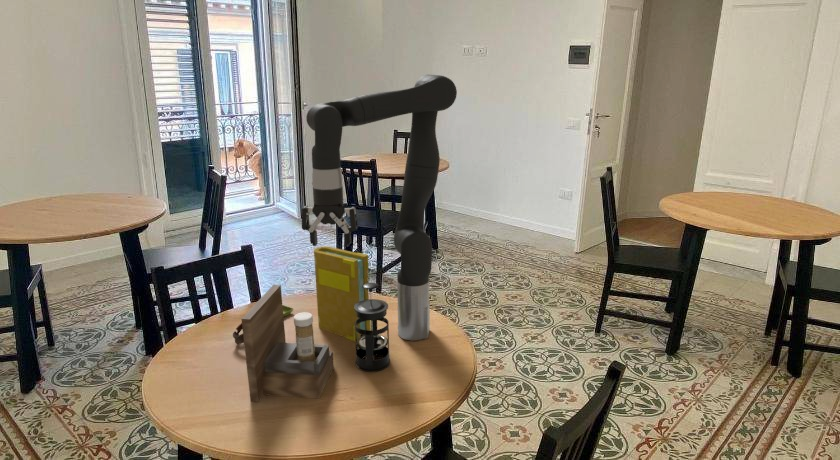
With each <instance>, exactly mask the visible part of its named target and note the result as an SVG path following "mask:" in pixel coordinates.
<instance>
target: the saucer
mask: <svg viewBox="0 0 840 460" xmlns="http://www.w3.org/2000/svg"><path fill="white" fill-rule="evenodd" d="M282 306H283V318H285V317H286V316H288V315H290V314H292V312H293V311H294V308H293V307H290V306H287V305H284V304H282Z"/></svg>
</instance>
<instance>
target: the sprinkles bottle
mask: <svg viewBox="0 0 840 460" xmlns="http://www.w3.org/2000/svg"><path fill="white" fill-rule="evenodd" d="M313 323H314V318H313V314H312V313H310V312H307V311H306V312H305V311H303V312H299V313H296V314H295V315H294V316H293V324H294V329H295V342H296V345H297V354H298V361H316V360H315V346H314V344H315V339H314V328H313V327H314V326H313V325H314V324H313Z"/></svg>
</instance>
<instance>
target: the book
mask: <svg viewBox="0 0 840 460" xmlns="http://www.w3.org/2000/svg"><path fill="white" fill-rule="evenodd" d="M313 257H314V273H315V274H314V275H315V287H316V303H317V317H318V318H317V322H318V328H319V329H320V330H322V331H325V332H329V333H332V334H335V335H338V336H341V337H344V338H346V339H347V340H350V341H352V342H355V322H356V320H358V319H359V318H358V317H357V316H356V311H355V310H354V305H355V304H356V303H358V302H360V301H362V300H367V299H370V294H369V289H364V288H363V287H362V286H363V284H365V283H369V254H365V253H361V252H354V251H349V250H344V249H341V248H338V247H337V248H336V247H332V246H327V245H326V246H319V247H316V248H314V249H313ZM357 327H358V328H360V329H362V330H369V331H371V320H367V321H363V322H361V323H359V324H358V325H357ZM361 335H362V334H360V333H358V332H357V340H358V339H359V338H360V337H362V336H361Z"/></svg>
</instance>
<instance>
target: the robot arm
mask: <svg viewBox="0 0 840 460" xmlns="http://www.w3.org/2000/svg"><path fill="white" fill-rule="evenodd" d="M457 93H458V90H457V87H456V84H455V83H454V82H453V80H452V79H450V78H449V77H447V76H444V75H440V74H439V75H438V74H425V75H422V76H420V77H419V78H418V79H417V81H416V82H415V83H414V85H413V86H412V87H409V88H404V89H399V90H397V89H396V90H390V91H381V92H373V93H368V94H363V95H359V96H354V97H351V98H347V99H344V100H335V101H328V102H323V103H322V102H321V103H317V104H314V105H313V106H311V107H310V108H309V109H308V111H307V113H306V118H305V119H306V123H307V125H308V127H309V128H310V130H313V132H314V145H313V146H312V149H311V162H312V163H311V164H312V165H311V166H312V173H311V178H312V179H311V180H312V181H311V186H312V197H313V198H312V199H313V206H309V205H304V206H303V207H302V208H301V230H303V231H307V232H309V241H310V244H311V245H312V247H316V246H317V245H318V243H319V242H318V231H317V227H319V225H320V224H322V225H328V224H329V225H336V224H337V226H338V227H339V228H341V230H342V231H343V232H344V233H343V240H344V241H343V242H344V247H345V248H348V247H349V246H350V245H351V243H352V232H356V231H357V229H358V227H359V226H358V225H359V224H358V214H357V208H356V207H355V206H351V207H345V205H344V189H343V187H344V186H343V174H342V166H341V150H340V149H341V145H342V144H341V143H342V136H343V128H344V127H350V126H351V127H357V126H364V125H367V124H372V123H375V122H380V121H383V120H387V119H390V118H395V117H398V116H403V115H408V114H411V125H410V126H411V129H410V135H409V142H408V150H407V156H406V163H405V169H404V176H403V178H404V179H403V185H402V196H401V202H400V204H401V206H400V210H399V215H398V219H397V223H396V226H395V230H394V235H393V244H394V248H395V249H396V250H397V252H398V253H399V254H400V269H399V270H398V271H397V272H396V273H397V274H396V275H397V278H396V280H397V281H396V283H397V284H396V285H397V333H398V336H399V337H400V338H401V339H403V340H406V341H407V340H408V341H420V340H421V341H422V340H427V339H428V338H429V333H430V329H431V328H430V324H431V323H430V322H431V321H430V318H431V317H430V313H431V312H430V310H431V309H430V275H431V273H432V265H433V264H432V263H433V260H432V259H433V244H432V239H431V237H430V235H428V233H426V232H425V231H424V229H423V227H424V216H425V209H426V207H427V205H428V202H429V200H430V199H431V197H432V195H433V192H434V190H435V188H436V186H437V181H438V176H439V169H440V168H439V167H440V161H441V159H440V151H439V144H438V141H437V139H438V138H437V135H436V134H437V133H436V131H437V130H436V127H437V126H436V124H437V117H438V113H439V112H441V111H445V110H448V109H449V108H450V107H452V106H453V105H454V103H455V102H456V99H457ZM312 213H313V215H314V216H315V217H316V218H315V220H314V221H313V223H312V224H310V215H312ZM345 214H347V216H348V217H349V221H350V222H349V223H350V225H349V223H348V222H347V220H346V218H345V217H344V215H345Z"/></svg>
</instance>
